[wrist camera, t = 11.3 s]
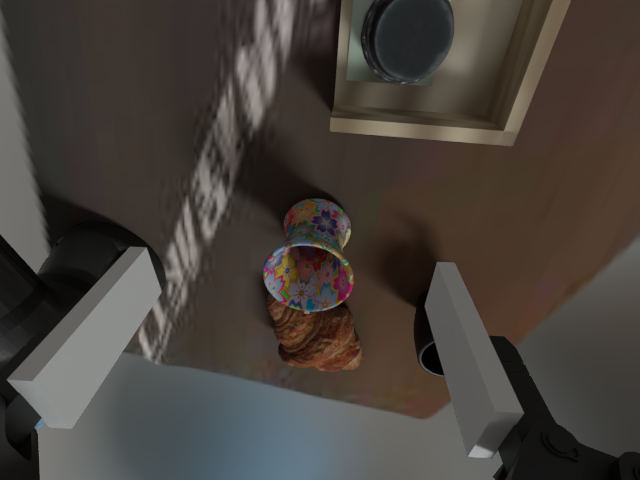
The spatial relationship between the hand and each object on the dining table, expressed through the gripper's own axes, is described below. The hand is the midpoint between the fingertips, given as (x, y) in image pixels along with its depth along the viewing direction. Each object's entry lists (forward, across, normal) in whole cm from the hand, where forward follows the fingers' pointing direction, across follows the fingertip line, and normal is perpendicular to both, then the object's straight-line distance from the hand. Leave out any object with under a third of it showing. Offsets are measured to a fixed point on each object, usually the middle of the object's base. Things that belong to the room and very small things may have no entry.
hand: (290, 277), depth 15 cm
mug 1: (+24, 0, -13) cm, 28 cm away
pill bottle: (+23, +6, +9) cm, 25 cm away
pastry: (+25, +1, -30) cm, 39 cm away
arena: (+23, +10, +8) cm, 27 cm away
